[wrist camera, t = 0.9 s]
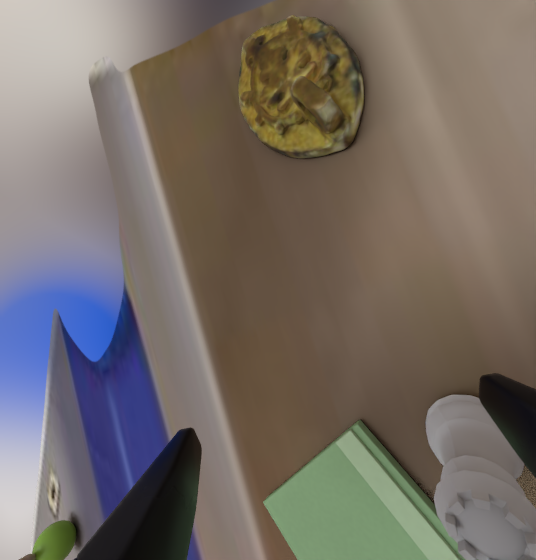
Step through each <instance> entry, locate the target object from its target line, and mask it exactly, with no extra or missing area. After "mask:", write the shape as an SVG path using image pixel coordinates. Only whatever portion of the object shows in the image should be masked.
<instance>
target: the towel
mask: <svg viewBox="0 0 536 560" xmlns="http://www.w3.org/2000/svg"><path fill="white" fill-rule="evenodd" d="M263 503H264V505H265V506H266V508H267V510H268V511H269V513H270V515H271V516H272V518H273V520H274V521H275V523H276V525H277V526H278V528H279V530H280V531H281V533H282V535H283V536H284V538H285V540H286V541H287V543H288V544H289V546H290V548H291V549H292V551H293V553H294V554H295V556H296V558H297V559H298V560H466V559H465V558H464V557H463V556H462V555H461V554H460V553H459V552H458V543H457V542H456V541H455V540H454V539H453V538H452V537H450V536H449V535H448V533H447V531H446V529H445V528H444V526H443V524H442V523H441V521H440V519H439V518H438V516H437V511H436V507H435V505H434V504H433V502H432V501H431V500H430V499H429V498H428V497H427V496H426V494H425V493H424V492H423V491H422V490H421V489H420V488H419V486H418V485H417V484H416V483H415V482H414V481H413V480H412V478H411V477H410V476H409V475H408V474H407V473H406V472H405V470H404V469H403V468H402V467H401V466H400V465H399V464H398V462H397V461H396V460H395V459H394V458H393V457H392V456H391V454H390V453H389V452H388V451H387V450H386V449H385V448H384V446H383V445H382V444H381V443H380V442H379V441H378V440H377V438H376V437H375V436H374V435H373V434H372V433H371V432H370V430H369V429H368V428H367V427H366V426H365V425H364V424H363V422H362V421H361V420H358V421H357V422H356V423H355V424H354V425H352V426H351V427H350V428H349V429H348V430H346V431H345V432H344V433H343V434H342V435H340V436H339V437H338V438H337V439H336V440H335V441H333V442H332V443H331V444H330V445H329V446H327V447H326V448H325V449H324V450H323V451H321V452H320V453H319V454H318V455H317V456H315V457H314V458H313V459H312V460H311V461H310V462H308V463H307V464H306V465H305V466H304V467H302V468H301V469H300V470H299V471H298V472H296V473H295V474H294V475H293V476H292V477H290V478H289V479H288V480H287V481H286V482H285V483H283V484H282V485H281V486H280V487H279V488H277V489H276V490H275V491H274V492H273V493H271V494H270V495H269V496H268V497H267V498H266V499H265V501H264V502H263ZM477 560H478V559H477Z"/></svg>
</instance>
